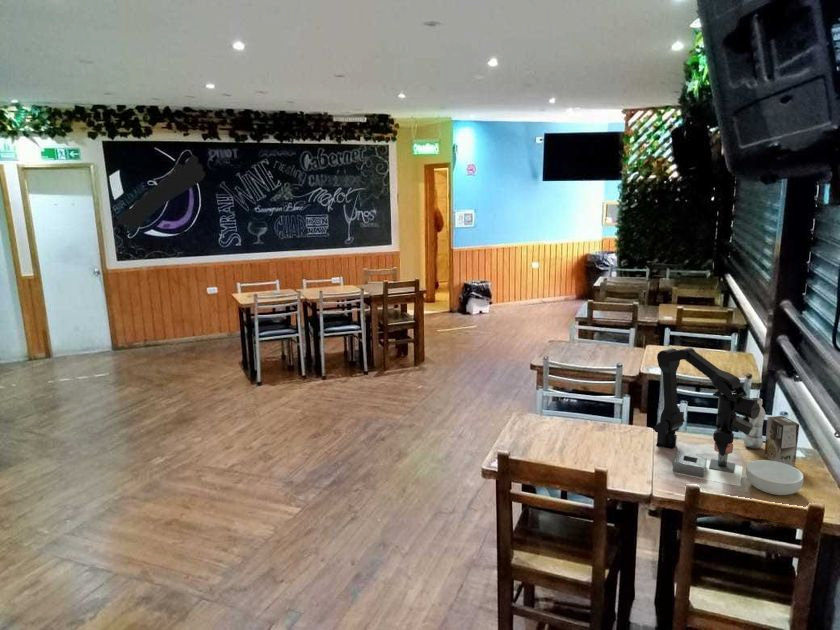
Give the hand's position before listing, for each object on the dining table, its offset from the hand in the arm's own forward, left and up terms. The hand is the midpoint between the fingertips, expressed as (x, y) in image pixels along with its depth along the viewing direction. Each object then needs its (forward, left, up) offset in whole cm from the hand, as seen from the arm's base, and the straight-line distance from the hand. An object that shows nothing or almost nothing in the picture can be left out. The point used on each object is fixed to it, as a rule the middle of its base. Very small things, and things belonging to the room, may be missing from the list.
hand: (723, 450), depth 213 cm
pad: (0, 0, -6) cm, 6 cm away
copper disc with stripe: (0, 0, -6) cm, 6 cm away
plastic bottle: (+9, +25, -7) cm, 27 cm away
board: (-4, -5, -7) cm, 9 cm away
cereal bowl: (+16, -10, -7) cm, 20 cm away
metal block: (-10, -8, -6) cm, 14 cm away
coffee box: (+18, +16, -7) cm, 25 cm away
